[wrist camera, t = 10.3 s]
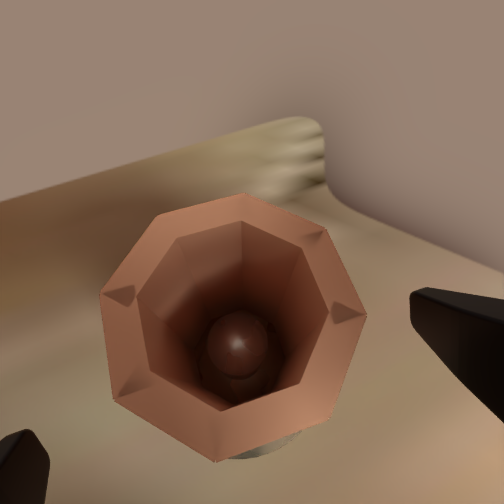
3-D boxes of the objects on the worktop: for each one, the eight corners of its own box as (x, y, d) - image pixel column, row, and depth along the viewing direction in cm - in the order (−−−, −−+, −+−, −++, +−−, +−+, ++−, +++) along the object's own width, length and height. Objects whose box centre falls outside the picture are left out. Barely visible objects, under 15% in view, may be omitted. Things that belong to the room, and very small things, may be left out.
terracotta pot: (316, 328, 18) (388, 255, 9) (266, 446, 16) (296, 512, 6) (216, 278, 19) (190, 169, 10) (155, 382, 17) (48, 360, 8)
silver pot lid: (348, 319, 19) (379, 295, 15) (281, 496, 15) (295, 535, 11) (208, 251, 21) (198, 212, 16) (117, 397, 17) (73, 396, 13)
